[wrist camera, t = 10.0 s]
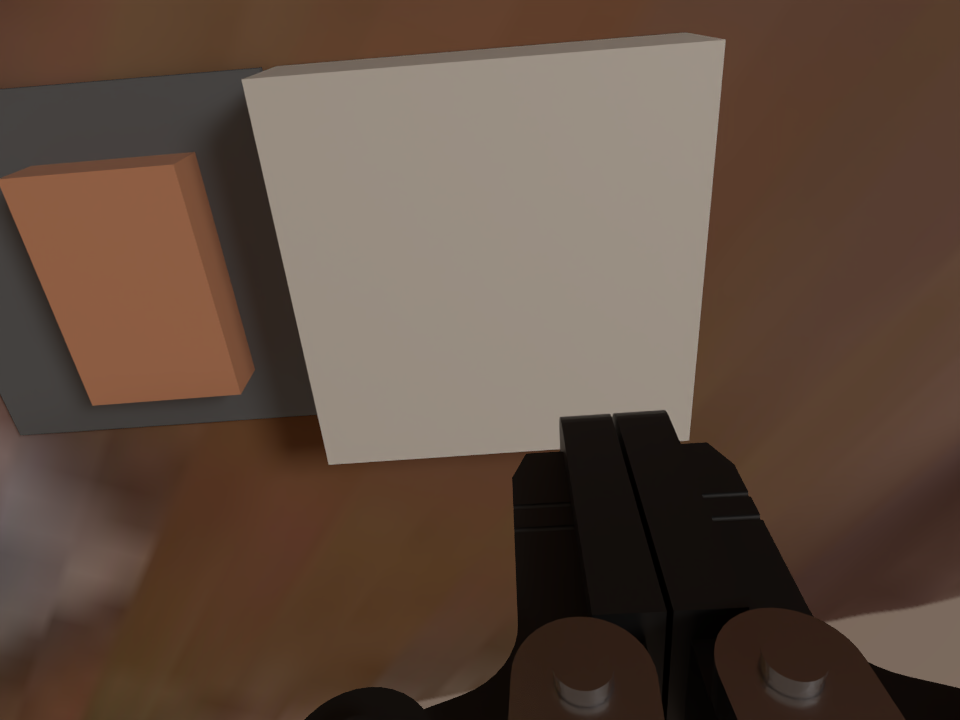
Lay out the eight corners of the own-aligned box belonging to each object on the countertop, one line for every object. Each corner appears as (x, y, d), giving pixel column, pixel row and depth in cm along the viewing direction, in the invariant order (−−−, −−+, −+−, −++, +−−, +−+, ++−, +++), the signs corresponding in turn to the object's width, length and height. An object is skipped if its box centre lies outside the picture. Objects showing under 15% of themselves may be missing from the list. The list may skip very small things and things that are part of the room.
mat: (261, 67, 23) (259, 68, 23) (334, 409, 30) (333, 413, 30) (-136, 100, 23) (-143, 101, 23) (24, 431, 30) (20, 435, 30)
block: (-4, 179, 23) (31, 165, 24) (92, 405, 27) (115, 380, 29) (173, 164, 22) (195, 151, 24) (240, 394, 27) (254, 369, 28)
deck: (686, 32, 23) (725, 39, 19) (662, 386, 29) (688, 440, 26) (276, 66, 23) (241, 79, 20) (345, 409, 30) (328, 464, 26)
